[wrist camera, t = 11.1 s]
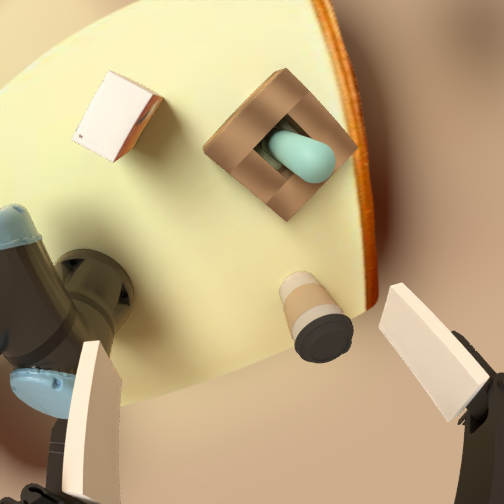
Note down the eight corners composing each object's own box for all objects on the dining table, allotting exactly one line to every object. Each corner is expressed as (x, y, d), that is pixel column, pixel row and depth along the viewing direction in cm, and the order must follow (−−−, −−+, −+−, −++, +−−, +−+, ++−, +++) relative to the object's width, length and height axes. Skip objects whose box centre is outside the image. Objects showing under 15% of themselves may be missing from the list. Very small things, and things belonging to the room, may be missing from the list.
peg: (276, 161, 39) (315, 191, 27) (255, 142, 37) (287, 164, 25) (295, 141, 38) (343, 162, 26) (275, 121, 36) (317, 133, 24)
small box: (133, 148, 34) (112, 165, 25) (99, 130, 32) (69, 141, 23) (165, 97, 32) (155, 94, 23) (130, 77, 29) (108, 69, 20)
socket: (276, 208, 42) (286, 222, 38) (202, 146, 36) (204, 153, 32) (341, 141, 39) (358, 147, 35) (274, 71, 33) (286, 67, 28)
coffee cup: (268, 308, 51) (292, 373, 39) (278, 264, 47) (310, 327, 34) (313, 307, 54) (346, 366, 41) (327, 266, 50) (369, 323, 37)
